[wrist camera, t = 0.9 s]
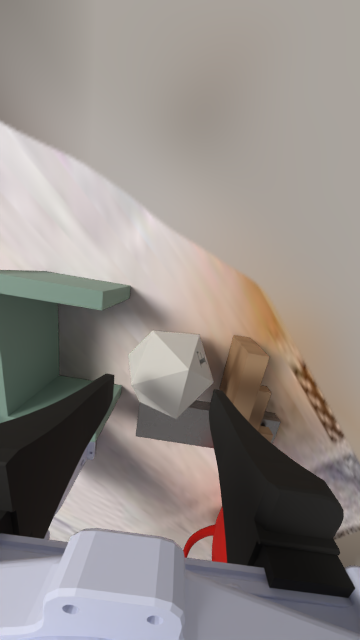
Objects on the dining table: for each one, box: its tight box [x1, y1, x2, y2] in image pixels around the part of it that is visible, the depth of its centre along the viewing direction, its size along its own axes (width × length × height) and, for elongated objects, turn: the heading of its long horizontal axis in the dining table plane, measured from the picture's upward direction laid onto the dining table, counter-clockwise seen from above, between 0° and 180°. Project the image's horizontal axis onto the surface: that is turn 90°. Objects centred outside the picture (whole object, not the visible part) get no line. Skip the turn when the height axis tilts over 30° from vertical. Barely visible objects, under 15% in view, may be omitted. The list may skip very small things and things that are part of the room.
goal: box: [0, 270, 131, 442], centre depth 18 cm, size 15×10×7 cm, turn 171°
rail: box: [136, 400, 280, 448], centre depth 24 cm, size 6×18×2 cm, turn 81°
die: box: [128, 331, 214, 419], centre depth 18 cm, size 8×9×10 cm
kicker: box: [220, 335, 273, 443], centre depth 19 cm, size 16×7×9 cm, turn 171°
